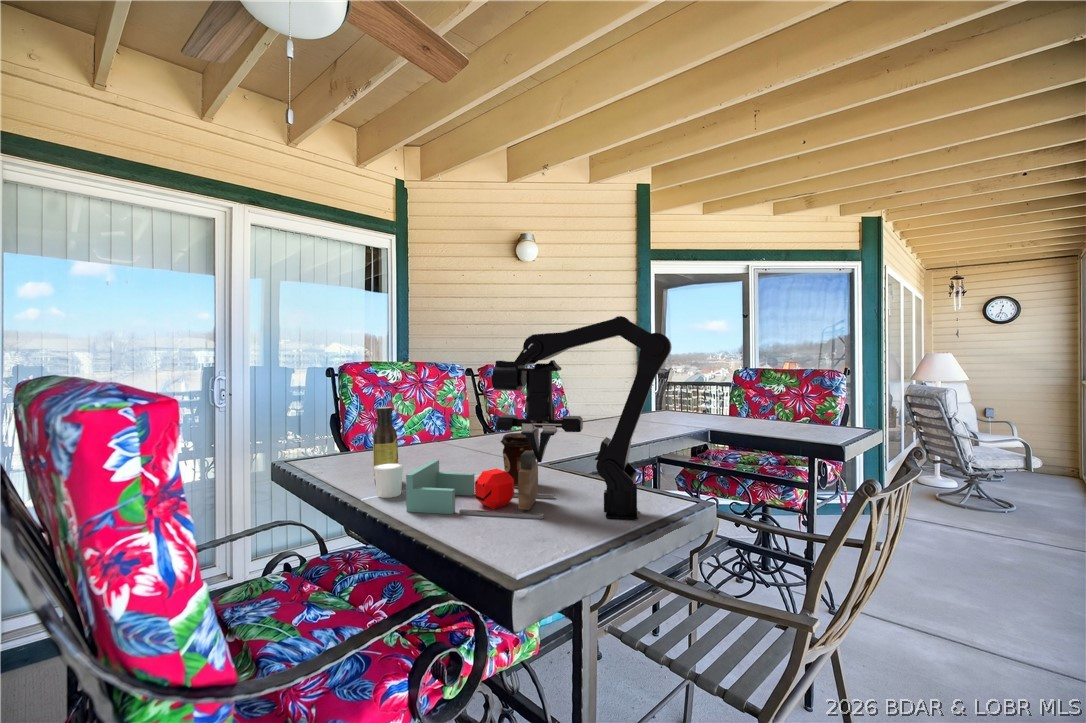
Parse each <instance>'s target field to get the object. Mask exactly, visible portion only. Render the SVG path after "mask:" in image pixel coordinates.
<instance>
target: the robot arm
mask: <svg viewBox="0 0 1086 723" xmlns="http://www.w3.org/2000/svg"><path fill="white" fill-rule="evenodd" d="M616 337H621V338H623V339H624V340H626V341H627V342H629V343H630V344H632V345H634V346H636V347H637V348H639V349H640V350H639V354H638V361H637V369H636V375H635V377H634V380H633V383H632V385H631V388H630V391H629V393H628V396H627V399H626V401H625V404H624V407H623V409H622V412H621V414H620V417H619V420H618V422H617V425H616V428H615V430H614V433H613V435H612V437H611V438H609V437H607V436H605V438H604V439H602V441H601V443H600V446H599V452H598V454H597V456H595V458H594V461H597V462H596V466H595V467H596V468H595V469H596V472H597V473H598V475H599V476H600V478H601V479H603V480H604V483H605V485H606V489H605V490H604V491H603V512H604V513H605V518H606V519H619V520H620V519H621V520H638V519H639V516H638V515H639V514H638V511H639V510H638V483H635V481H636V479H637V476H638V474H639V473H638V471H637V470H636V468H634V466H633V465H631V464H630V462H629V458H630V453H631V446H632V438H633V436H634V433H635V430H636V428H637V425H638V422H639V420H640V418H641V415H642V413H643V410H644V408H645V407H644V406H645V404H646V402H647V399H648V396H649V393H650V392H651V391H650V390H651V389H652V385H653V383H654V380H655V379H656V377H657V375H658V374H659V372H660V370H661V369H662V367H663V366H664V364H665V362H666V361H667V359H668V357H669V356H670V354H671V351H672V342H671V340H670V338H668V337H667V336H666V335H665V334H663V333H660V332H649V331H648V330H646V329H644V328H643V327H640V326H639V325H638V324H636V323H634V322H632V321H630V319H629V318H628V317H625V316H623V315H622V316H621V315H617V316H615V317H614V318H610V319H607V320H604V321H600V322H596V323H593V324H589V325H586V326H582V327H578V328H574V329H570V330H567V331H563V332H552V333H551V332H547V333H546V332H545V333H535V334H531V335H529V336H527V337H526V338H525V340H524V342H523V347H522V350H521V351H520V353H519V354H518V355H517V357H516V359H515V360H514V361H507V360H495V366H494V368H493V371H492V375H491V385H492V388H493V390H494V391H496V392H497V391H502V392H504V391H505V392H506V391H507V392H520V391H522V388H523V387H525V386H526V394H525V395H526V397H525V405H524V413H525V414H526V415H525V418H523V417H522V418H519V415H518V414H502V415H500V416H497V418H495V419H496V420H495V430H496V431H510V430H511V429H512V428H513V427H515V428H517V427H520V428H521V432H520V433H521V435H525V436H526V437H527V439H528V441H529V443H530V445H531V447H532V449H533V452H534V454H535V457H536V462H538V463H542V462H543V459H544V456H545V452H546V450H547V449H546V448H547V446H548V443H549V442H550V438H551V437H552V436H555V435H556V434H557V433H558V429H562V430H563V431H564V432H565V433H580V432H582V430H583V428H584V420H583V417H582V416H580V415H564V417H562V419H561V418H558V419H557V418H556V405H555V404H554V402H553V372H559V371H560V372H561V370H563V368H562V367H561V366H560V365H559V364H558V363H557V362H556V360H554V359H553V360H552V358H554V357H555V356H556V357H557V356H558V355H560V354H562V353H564V352H566V351H568V350H571V349H572V348H573V349H574V348H577V347H581V346H584V345H588V344H589V345H590V344H593V343H596V342H597V343H598V342H600V341H604V340H608V339H611V338H616ZM546 360H550V361H549V362H548V363H542V362H541V363H538V362H540V361H546ZM528 365H529V366H530V365H532V366H533V365H534V367H526V366H528ZM540 428H542V431H540V433H539V430H540ZM539 434H540V435H539Z"/></svg>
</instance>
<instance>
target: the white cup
mask: <svg viewBox="0 0 1086 723" xmlns="http://www.w3.org/2000/svg"><path fill="white" fill-rule="evenodd" d="M374 472H375V476H374V479H375V480H374V482H375V481H376V483H375V489H376V496H377V497H378V498H383V499H386V498H387V499H388V498H395V497H399V496H400V495H401V494H402V486H403V476H404V475H403V472H404V464H402V463H399V462H398V463H385V464H380V465H376V466H374V465H373V473H374Z"/></svg>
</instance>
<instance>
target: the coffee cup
mask: <svg viewBox="0 0 1086 723" xmlns="http://www.w3.org/2000/svg"><path fill="white" fill-rule="evenodd" d="M500 443H501V444H502V445H503V449H502V459H503V468H504V470H503V471H506V472H507V473H508V474H509V475H510V476H511V477H512V478H513V479H514V489H516V488H517V489H518V471H519V470H520V469H521V454H522V453H523V452H524V451H533V449H532V447H531V445H530V443H529V441H528V439H527V437H526V436H525V435H521V432H515V433H514V432H511V433H509V432H508V433H506V434H504V436H502V439H501V440H500Z"/></svg>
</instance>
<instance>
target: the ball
mask: <svg viewBox="0 0 1086 723" xmlns="http://www.w3.org/2000/svg"><path fill="white" fill-rule="evenodd" d="M514 492H515V488H514V479H513V478H512V477H511V476H510V475H509V474H508V473H507V472H506V471H505V470H503V469H500V468H491V469H488V470H482V472H481V473H480V474H479V476H478V477H477V479H476V480H475V494H474V498H475V499H476V500H477V501H478V502H479V503H480V504H482V506H485V507H487V508H489V509H491V510H494V509H497V508H498V509H499V508H502V507H506V506H508V505H509V503H510V502H511V501H512V499H513V498H514V497H513V496H514Z"/></svg>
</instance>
